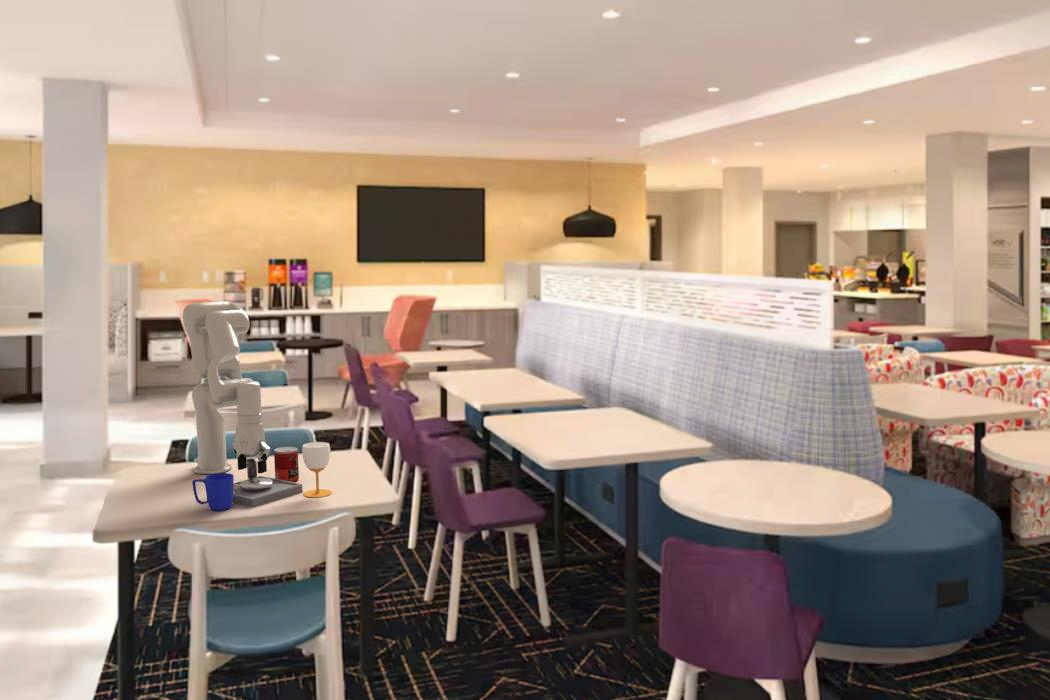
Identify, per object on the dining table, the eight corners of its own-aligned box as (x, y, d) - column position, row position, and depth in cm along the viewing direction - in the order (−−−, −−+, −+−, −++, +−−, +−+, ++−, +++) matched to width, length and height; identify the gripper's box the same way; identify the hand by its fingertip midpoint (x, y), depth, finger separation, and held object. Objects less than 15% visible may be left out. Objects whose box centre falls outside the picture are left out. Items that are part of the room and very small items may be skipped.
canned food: (293, 484, 296) (291, 452, 295) (271, 483, 298) (269, 451, 296) (303, 478, 303) (301, 447, 302) (281, 477, 305) (280, 446, 304)
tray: (210, 497, 281) (210, 489, 281) (260, 483, 297) (260, 475, 297) (252, 507, 270) (252, 498, 270) (302, 491, 287) (302, 484, 286)
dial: (275, 487, 281) (274, 465, 280) (243, 491, 277) (242, 469, 276) (267, 477, 294) (266, 456, 293) (235, 481, 289) (234, 459, 288)
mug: (197, 505, 272) (196, 473, 271) (237, 504, 273) (236, 472, 272) (190, 513, 264) (188, 480, 263) (231, 512, 265) (229, 479, 264)
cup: (307, 499, 278) (305, 449, 276) (300, 492, 286) (298, 443, 284) (335, 495, 282) (333, 446, 280) (328, 488, 290) (326, 440, 288)
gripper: (223, 418, 289) (225, 470, 291) (258, 423, 280) (261, 476, 282) (241, 415, 295) (244, 465, 297) (277, 419, 286) (279, 471, 288)
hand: (252, 470), depth 289 cm, fingers open, 9 cm apart
